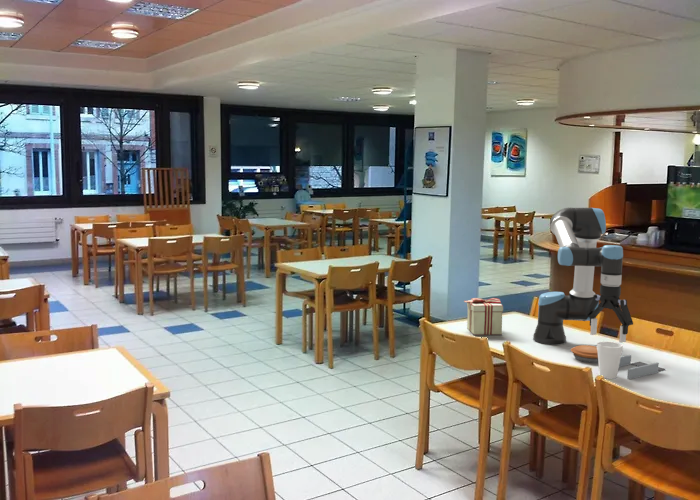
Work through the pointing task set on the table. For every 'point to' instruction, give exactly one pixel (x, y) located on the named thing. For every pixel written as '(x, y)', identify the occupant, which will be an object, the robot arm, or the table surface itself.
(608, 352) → the foam cup
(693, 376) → the table surface
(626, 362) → the channel
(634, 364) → the trap mat
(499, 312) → the gift box
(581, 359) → the pie
